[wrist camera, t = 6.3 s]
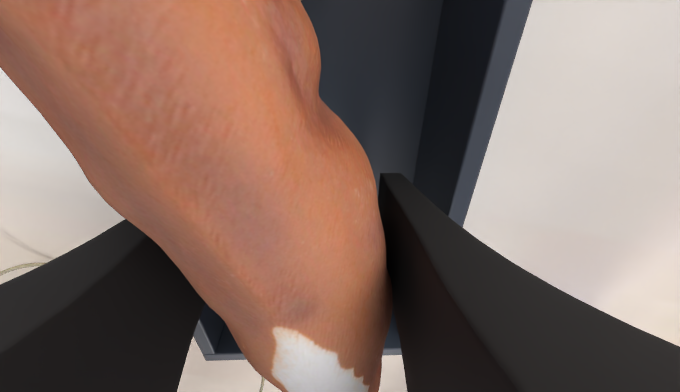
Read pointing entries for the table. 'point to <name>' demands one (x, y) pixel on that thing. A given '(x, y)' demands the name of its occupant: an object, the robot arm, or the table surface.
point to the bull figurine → (223, 166)
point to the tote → (409, 100)
